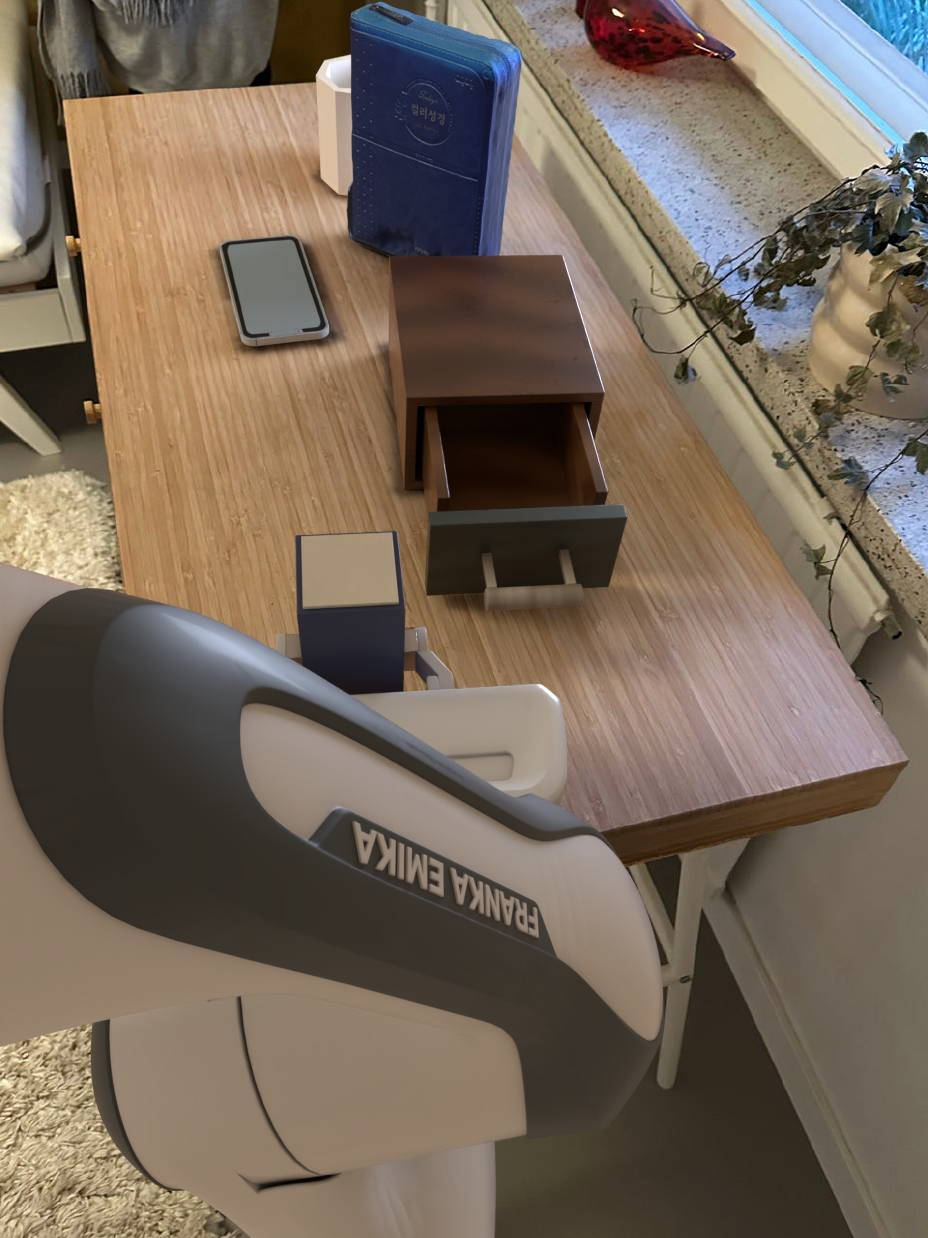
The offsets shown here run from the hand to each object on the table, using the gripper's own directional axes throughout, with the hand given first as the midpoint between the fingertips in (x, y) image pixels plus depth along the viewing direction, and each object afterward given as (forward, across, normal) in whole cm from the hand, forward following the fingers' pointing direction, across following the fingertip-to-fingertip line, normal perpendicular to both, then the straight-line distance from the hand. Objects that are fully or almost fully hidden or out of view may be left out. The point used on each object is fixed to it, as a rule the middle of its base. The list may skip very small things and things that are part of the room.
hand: (352, 636), depth 54 cm
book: (+50, +8, -10) cm, 52 cm away
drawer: (+15, +11, -9) cm, 21 cm away
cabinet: (+29, +11, -10) cm, 32 cm away
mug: (+63, +4, -10) cm, 64 cm away
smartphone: (+45, -5, -10) cm, 46 cm away
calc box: (-1, 0, -10) cm, 10 cm away
